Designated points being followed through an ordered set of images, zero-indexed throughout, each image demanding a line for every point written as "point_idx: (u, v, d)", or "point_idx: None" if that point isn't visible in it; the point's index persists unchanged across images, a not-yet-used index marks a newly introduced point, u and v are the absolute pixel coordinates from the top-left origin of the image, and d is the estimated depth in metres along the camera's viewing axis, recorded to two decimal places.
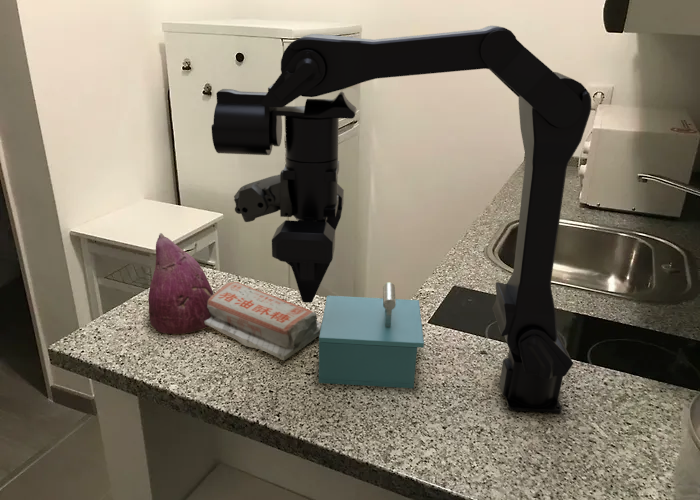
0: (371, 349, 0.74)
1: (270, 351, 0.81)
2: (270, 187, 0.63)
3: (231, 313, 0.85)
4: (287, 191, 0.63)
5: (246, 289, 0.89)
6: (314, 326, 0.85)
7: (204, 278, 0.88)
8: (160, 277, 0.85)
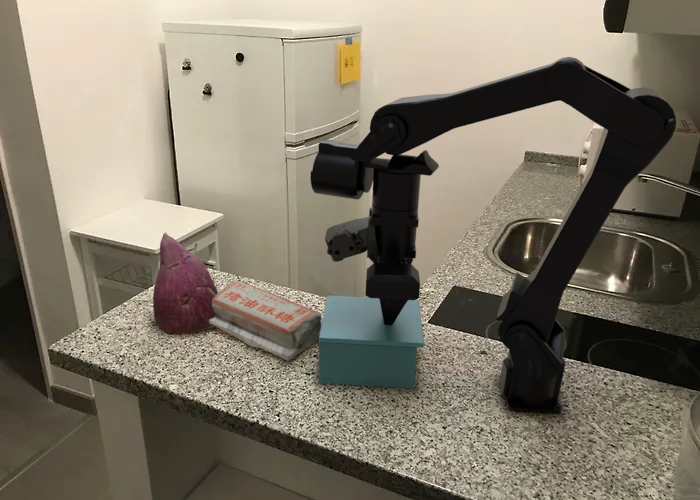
0: (371, 349, 0.74)
1: (274, 351, 0.81)
2: (358, 231, 0.71)
3: (235, 312, 0.85)
4: (374, 235, 0.71)
5: (251, 288, 0.89)
6: (318, 326, 0.85)
7: (208, 277, 0.88)
8: (164, 276, 0.85)
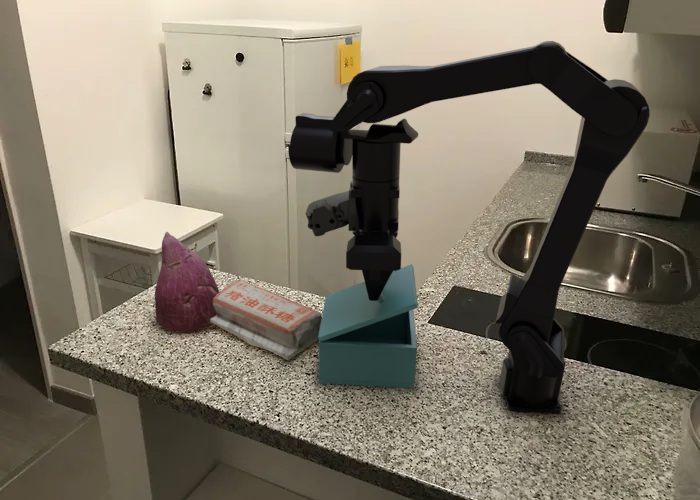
0: (371, 349, 0.74)
1: (274, 350, 0.81)
2: (339, 204, 0.70)
3: (236, 311, 0.85)
4: (355, 208, 0.69)
5: (252, 288, 0.89)
6: (319, 326, 0.85)
7: (210, 276, 0.88)
8: (166, 275, 0.85)
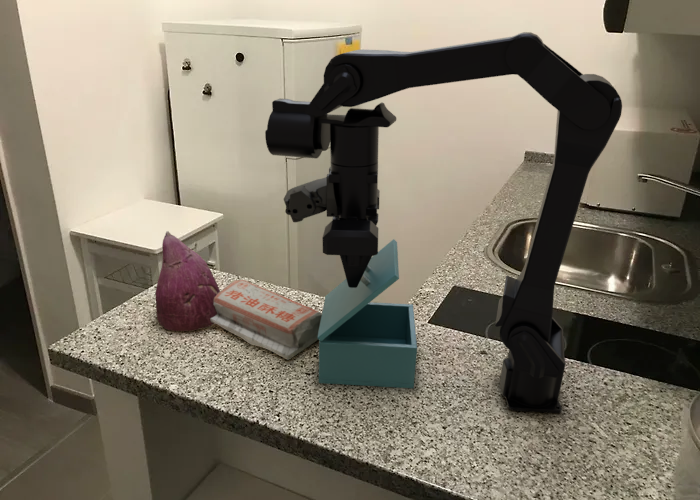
0: (371, 349, 0.74)
1: (274, 350, 0.81)
2: (317, 190, 0.69)
3: (237, 311, 0.85)
4: (333, 193, 0.69)
5: (252, 287, 0.89)
6: (319, 326, 0.85)
7: (210, 276, 0.88)
8: (166, 275, 0.85)
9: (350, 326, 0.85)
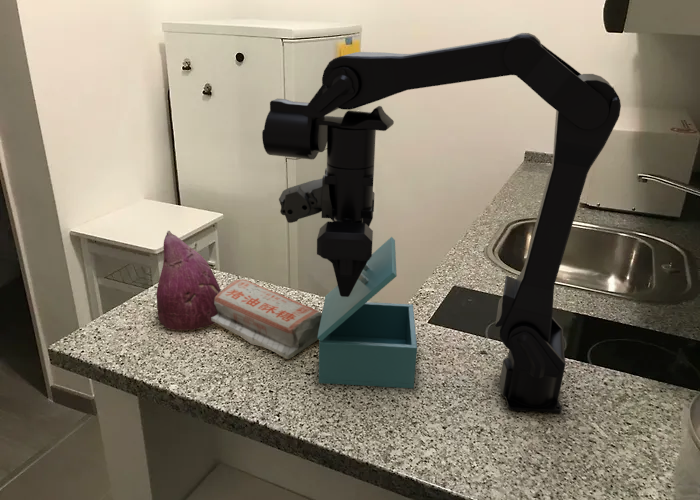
0: (371, 349, 0.74)
1: (275, 349, 0.81)
2: (312, 191, 0.69)
3: (237, 310, 0.85)
4: (328, 195, 0.69)
5: (253, 287, 0.89)
6: None
7: (211, 275, 0.88)
8: (167, 274, 0.86)
9: (350, 326, 0.85)
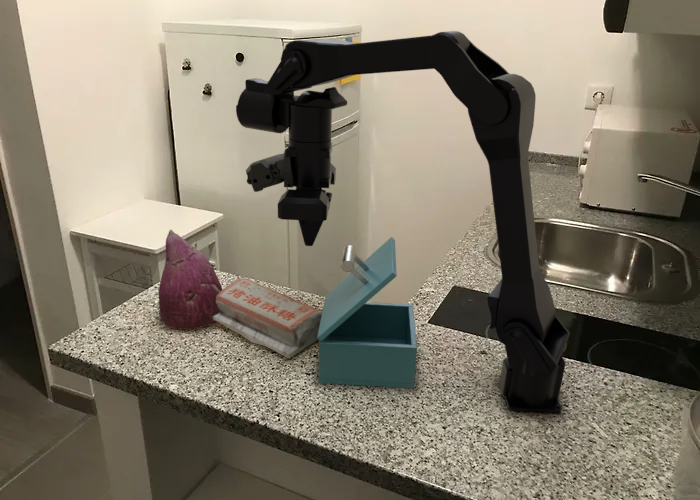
0: (371, 349, 0.74)
1: (275, 348, 0.81)
2: (276, 163, 0.78)
3: (239, 309, 0.85)
4: (289, 166, 0.77)
5: (255, 286, 0.90)
6: None
7: (213, 274, 0.89)
8: (169, 273, 0.86)
9: (350, 326, 0.85)
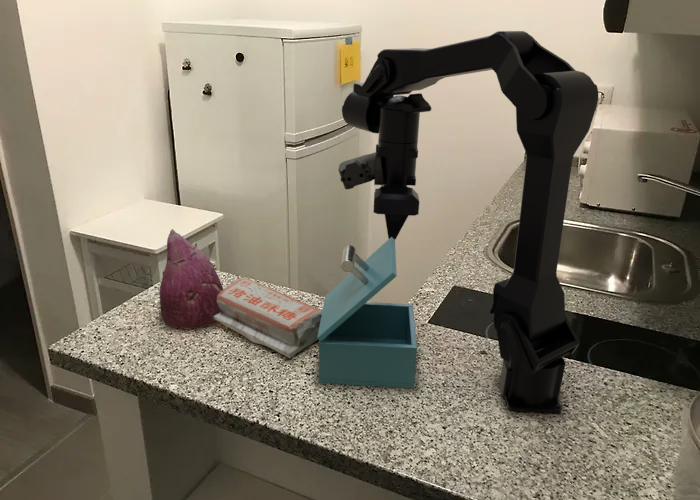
0: (371, 349, 0.74)
1: (276, 348, 0.81)
2: (367, 162, 0.84)
3: (239, 309, 0.86)
4: (380, 165, 0.84)
5: (255, 285, 0.90)
6: None
7: (214, 274, 0.89)
8: (171, 272, 0.86)
9: (350, 326, 0.85)
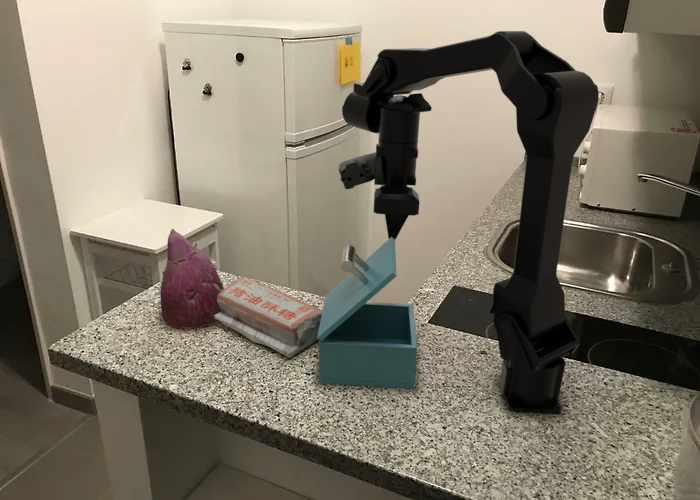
0: (371, 349, 0.74)
1: (276, 348, 0.81)
2: (367, 162, 0.84)
3: (240, 308, 0.86)
4: (380, 165, 0.84)
5: (256, 285, 0.90)
6: None
7: (214, 273, 0.89)
8: (171, 272, 0.86)
9: (350, 326, 0.85)
